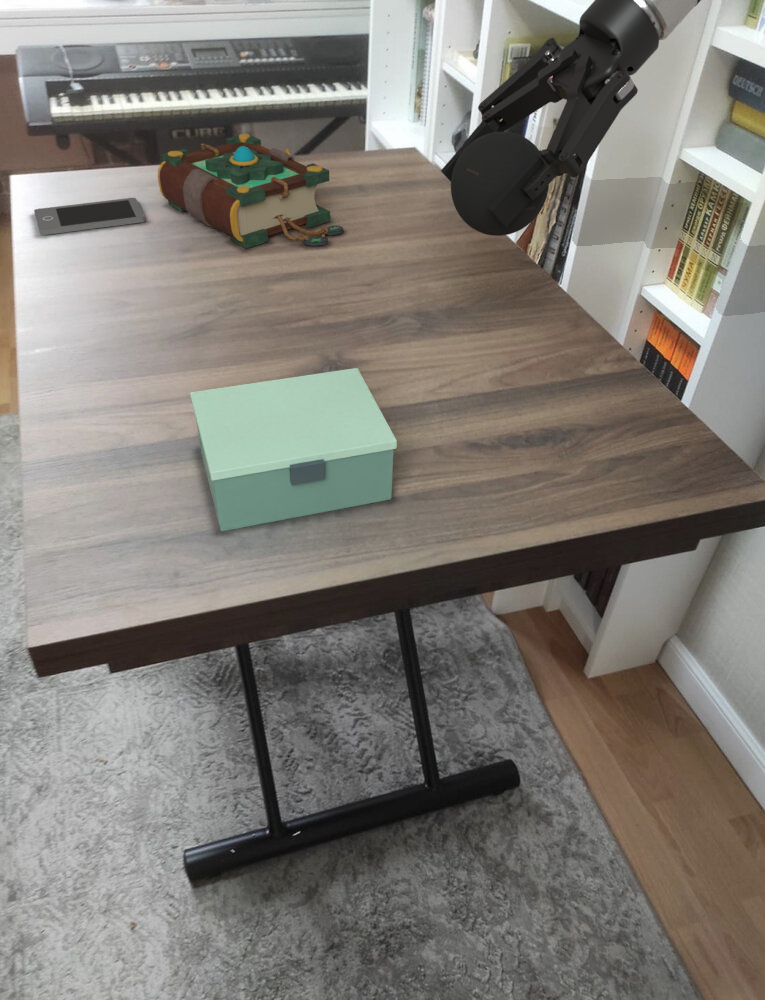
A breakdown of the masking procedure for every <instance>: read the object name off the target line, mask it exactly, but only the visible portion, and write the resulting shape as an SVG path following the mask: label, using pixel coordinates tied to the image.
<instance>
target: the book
mask: <svg viewBox="0 0 765 1000" xmlns="http://www.w3.org/2000/svg"><path fill="white" fill-rule="evenodd" d="M225 141H226V143H224V144H220V145H217V146H211V145H210V144H206V143H200V147H201V149H200V150H196V151H192V152H189V150H187V149H186V148H182V149H181V148H180V149H177V150H170V151H168V152H164V153H161V162H160V165H159V166H158V168H157V170H158V171H157V182H158V188H159V191H160V192H161V196H163V198H164V199H165V200H167V201H168V202H167V203H168V205H169V206H171V207H172V208H174V209H176V210H178V211H180V212H182V213H183V212H185V211H186V212H187V213H188V214H189V215H190V216H191V217H192V218H194V219H196V220H197V221H199V222H200V223H202V224H204V225H206V226H208V227H211V228H215V229H218V230H220V231H221V232H223V233H224V234H226V235H228V236H230V241H231V242H233V243H235V244H237V245H238V246H240V247H242V248H243V249H249V248H253V247H255V246H259V245H262V244H264V243H268V242H269V236H271V235H274V234H278V233H280V232H283V234H284V236H285V237H286V238H288V239H289V241H299V242H301V241H302V240H303V244H304V245H306V246H311V247H312V246H314V247H316V246H325V245H327V244H328V242H329V238H328V237H326V236H336V235H341V234H342V233H344V227H343V226H341V225H329V226H325V225H323V226H321V228H320V230H317V231H315V230H314V231H312V230H307V229H305V228H303V227H301V226H302V225H304V226H305V227H308V228H313V227H316V226H319V225H322V224H325V223H328V222H330V221H331V211H330V210H329V209H327V208H324V207H322V206H320V205H319V204H317V203H316V201H315V199H316V198H315V193H316V190H317V189H316V188H317V186H318V185H321V184H325V183H327V182H330V170H329V169H327V168H324V167H323V166H321V165H318V164H316V163H314V162H312V163H309V164H306V165H304V164H302V163H300V162H298V161H296V160H295V157H294V156H293V155H291V153H290V150H289V149H288V148H286V149H285V150H284V151H283V150H280V149H277V148H275V147H272V148H270V149H269V148H267V147H265V146H263V145H262V139H260V138H258V137H255V136H254V135H251V134H249V133H240V134H239V135H235V136H230V137H227V138H225ZM289 229H294V230H297V231H299V232H301V233H299V234H296V236H293V235H291V234H290V233H289V231H288V230H289ZM302 233H303V234H305V235H303V234H302ZM307 235H309V237H308V236H307ZM319 235H321V236H319Z"/></svg>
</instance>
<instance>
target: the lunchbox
mask: <svg viewBox="0 0 765 1000" xmlns="http://www.w3.org/2000/svg"><path fill="white" fill-rule="evenodd" d="M189 397H190V400H191V405H192V409H193V413H194V417H195V421H196V427H197V433H198V441H199V447H200V453H201V457H202V462H203V466H204V471H205V474H206V478H207V482H208V486H209V489H210V493H211V497H212V501H213V506H214V509H215V510H214V511H215V514H216V519H217V522H218V527H219V530H220V532H226V531H232V530H237V529H243V528H247V527H253V526H259V525H263V524H269V523H274V522H278V521H279V522H280V521H284V520H290V519H294V518H300V517H306V516H311V515H316V514H322V513H327V512H332V511H337V510H343V509H348V508H352V507H358V506H359V507H360V506H364V505H369V504H373V503H379V502H385V501H388V500H389V501H391V500H392V497H393V496H392V494H393V493H392V492H393V471H394V452H395V451H394V450H396V449H397V448H398V441H397V440H398V439H397V438H396V436H395V435H394V432H393V431H392V429H391V427H390V426H389V424H388V422H387V420H386V418H385V416H384V414H383V412H382V411H381V409H380V406H379V405H378V403H377V401H376V399H375V397H374V396H373V394H372V392H371V391H370V388H369V386H368V385H367V382H366V380H365V379H364V377H363V375H362V374H361V371H360V370H359V368H358V367H353V368H347V369H339V370H332V371H327V372H319V373H313V374H305V375H298V376H291V377H286V378H279V379H273V380H265V381H258V382H251V383H244V384H238V385H237V384H236V385H231V386H223V387H218V388H210V389H205V390H197V391H191V392H189Z"/></svg>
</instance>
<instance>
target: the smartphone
mask: <svg viewBox="0 0 765 1000" xmlns="http://www.w3.org/2000/svg"><path fill="white" fill-rule="evenodd" d="M33 212H34V216H35V221H36V224H37V227H38V233H39V235H40V236H48V235H54V234H63V233H70V232H78V231H86V230H94V229H102V228H110V227H116V226H117V227H118V226H125V225H133V224H139V223H144V222H146V218H145V214H144V212H143V211H142V208H141V207H140V204H139V203H138V200H137V198H136V197H127V198H118V199H108V200H100V201H91V202H83V203H75V204H67V205H59V206H50V207H42V208H36V209H33Z"/></svg>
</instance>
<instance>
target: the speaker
mask: <svg viewBox="0 0 765 1000" xmlns="http://www.w3.org/2000/svg"><path fill="white" fill-rule="evenodd" d="M539 151H540V149H539V148H538V147H537V145H535V144H534V143H533V142H532V141H531V140H529V139H528V138H527V137H525V136H523V135H521V134H518V133H516V132H512V131H504V132H493V133H489V134H486V135H483V136H481V137H479V138H478V139H476V140H474V141H473V142H472V143H471V144H469V145H468V146H467V147H466V148H465V149H464V151H463V152H462V153H461V155H460V156H459V158H458V160H457V162H456V164H455V166H454V169H453V172H452V177H451V182H450V195H451V200H452V203H453V206H454V208H455V211H456V212H457V214H458V216H459V217H460V218H461V220H463V222H464V223H465V224H466V225H467V226H469V228H471V229H473V230H474V231H477V232H478V233H481V234H484V235H488V236H492V237H493V236H494V237H497V236H498V237H500V236H501V237H502V236H507V235H512V234H514V233H517V232H519V231H521V230H523V229H525V228H526V227H527V226H529V225H530V224H531V223H533V221H534V220H535V219H536V218H537V217H538V216H539V215H540V212H541V211H542V209H543V208H544V205H545V203H546V200H547V198H548V195H549V190H550V189H549V188H550V184H549V185H548V186H547V187H546V188H545V189H544V190H543V191H542V192H541V194H540V195H539V196H538V197H537V198H535V199H534V200H531V201H530V202H529V203H528V205H527V206H526V207H525V208H524V209H523V210H522V211H521V212H520V213H519V214H518V216H517V217H516V218H515V219H514V220H513V221H512V222H511V223H510V224H509V225H508V227H507V228H506V227H505V226H504V225H503V224H502V223H501V222H500V221H499V220H498V219H497V218H496V217H495V216H494V215H493V213H492V212H491V211H490V210H489V209H488V208H489V206H490V205H491V204H492V203H493V202H494V201H495V200H496V199H497V198H498V196H499V195H500V194H501V193H502V192H503V191H504V190H505V189H506V187H507V186H508V185H509V184H510V183H511V182H512V181H513V180H514V179H515V177H516V176H517V175H518V174H519V173H520V172H521V171H522V170H523V168H524V167H525V166H526V165H527V164H528V163H529V162H530V161H531V160H532V158H533V157H534V156H535V155H537V156H539V157H540V158H541V159H542V161H544V159H543V158H542V156H541V155H540V154H539Z"/></svg>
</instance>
